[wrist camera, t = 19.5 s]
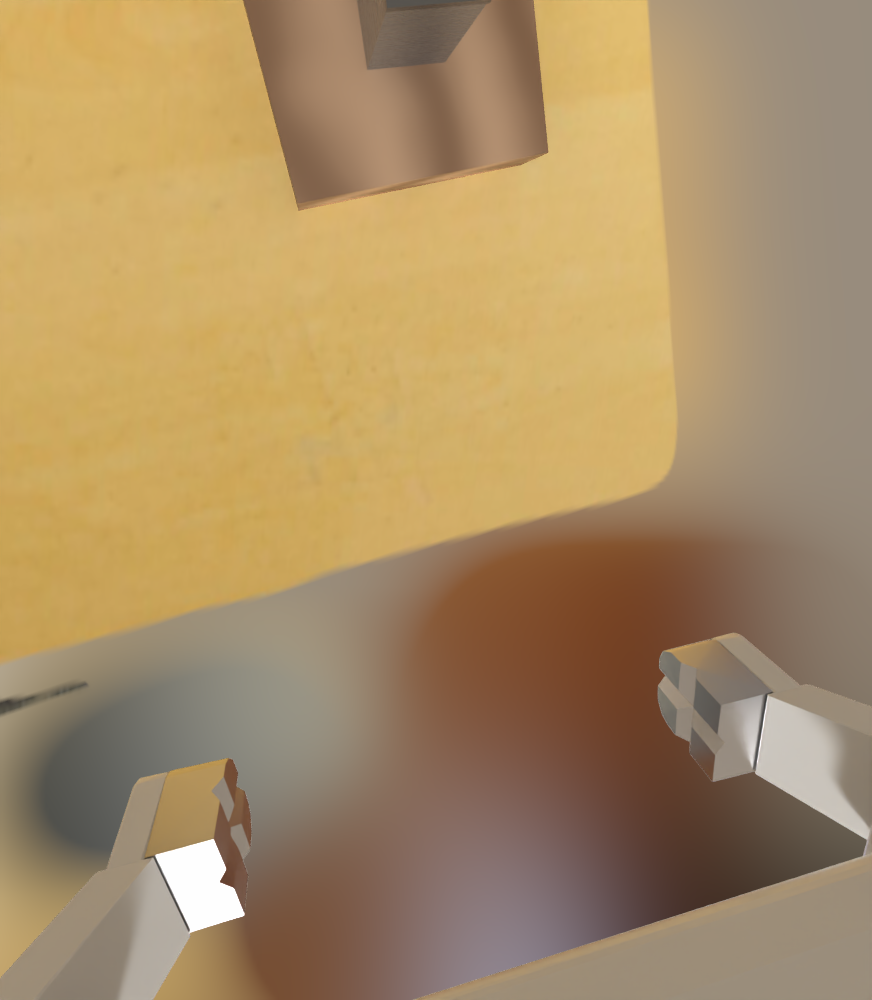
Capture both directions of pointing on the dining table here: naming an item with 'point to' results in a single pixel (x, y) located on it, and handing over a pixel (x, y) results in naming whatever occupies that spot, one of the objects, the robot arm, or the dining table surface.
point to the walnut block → (396, 100)
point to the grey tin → (414, 30)
